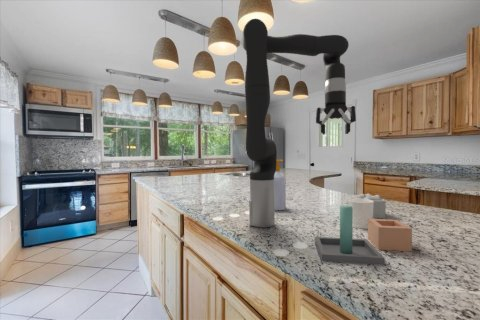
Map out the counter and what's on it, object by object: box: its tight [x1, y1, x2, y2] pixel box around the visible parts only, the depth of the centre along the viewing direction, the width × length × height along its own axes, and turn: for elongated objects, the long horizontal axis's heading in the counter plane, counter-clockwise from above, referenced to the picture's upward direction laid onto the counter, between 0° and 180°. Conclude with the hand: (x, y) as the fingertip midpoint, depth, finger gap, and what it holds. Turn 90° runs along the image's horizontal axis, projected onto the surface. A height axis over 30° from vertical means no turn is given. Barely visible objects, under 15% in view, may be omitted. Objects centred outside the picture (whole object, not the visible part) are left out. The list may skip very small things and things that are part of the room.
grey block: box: [354, 193, 386, 219], centre depth 101 cm, size 10×13×9 cm
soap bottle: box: [274, 159, 287, 212], centre depth 113 cm, size 9×9×24 cm
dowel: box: [339, 204, 353, 254], centre depth 61 cm, size 3×3×12 cm
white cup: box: [348, 197, 374, 230], centre depth 83 cm, size 8×8×10 cm
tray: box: [314, 236, 386, 266], centre depth 62 cm, size 14×12×2 cm
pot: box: [367, 218, 413, 252], centre depth 66 cm, size 8×8×7 cm
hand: (335, 134), depth 91 cm, fingers open, 8 cm apart
